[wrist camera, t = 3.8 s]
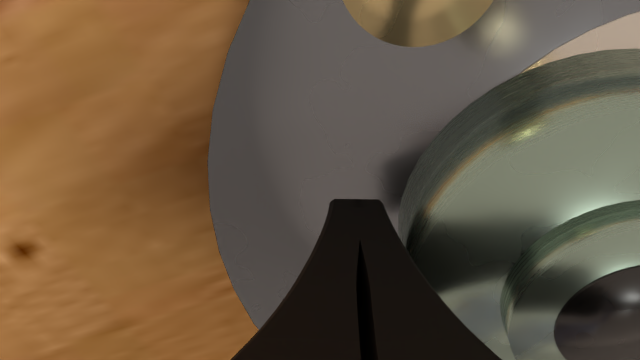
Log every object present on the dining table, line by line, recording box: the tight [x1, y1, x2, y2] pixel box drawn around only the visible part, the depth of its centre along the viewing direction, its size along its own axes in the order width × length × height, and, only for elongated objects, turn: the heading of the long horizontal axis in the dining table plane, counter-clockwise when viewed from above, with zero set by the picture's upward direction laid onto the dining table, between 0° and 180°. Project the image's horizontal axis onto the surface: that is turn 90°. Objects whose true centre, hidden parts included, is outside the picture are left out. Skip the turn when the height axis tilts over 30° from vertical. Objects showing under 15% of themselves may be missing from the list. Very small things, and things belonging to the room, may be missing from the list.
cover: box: [398, 48, 640, 360], centre depth 13 cm, size 9×9×3 cm
